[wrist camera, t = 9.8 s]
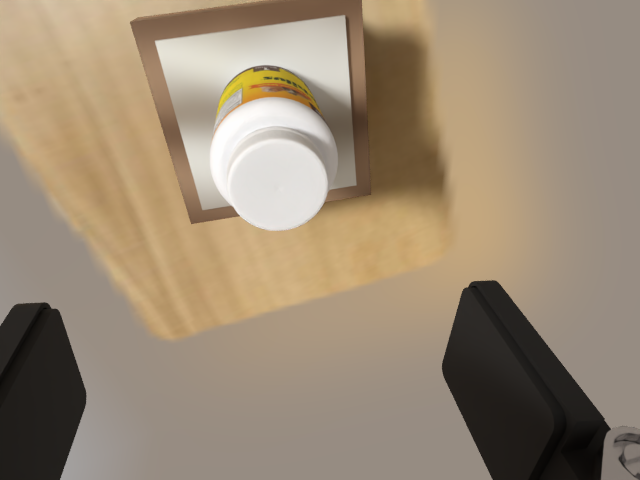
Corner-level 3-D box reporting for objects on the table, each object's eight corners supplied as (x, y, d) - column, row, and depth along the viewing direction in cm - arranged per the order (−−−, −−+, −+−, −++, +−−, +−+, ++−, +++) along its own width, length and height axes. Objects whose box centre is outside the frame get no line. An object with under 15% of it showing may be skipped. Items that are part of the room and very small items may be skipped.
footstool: (155, 7, 30) (128, 22, 23) (334, -17, 30) (362, -9, 23) (200, 174, 36) (190, 226, 29) (347, 151, 37) (372, 196, 30)
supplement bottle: (334, 106, 26) (378, 179, 18) (273, 175, 28) (287, 271, 20) (259, 38, 24) (268, 84, 15) (197, 118, 26) (174, 199, 17)
